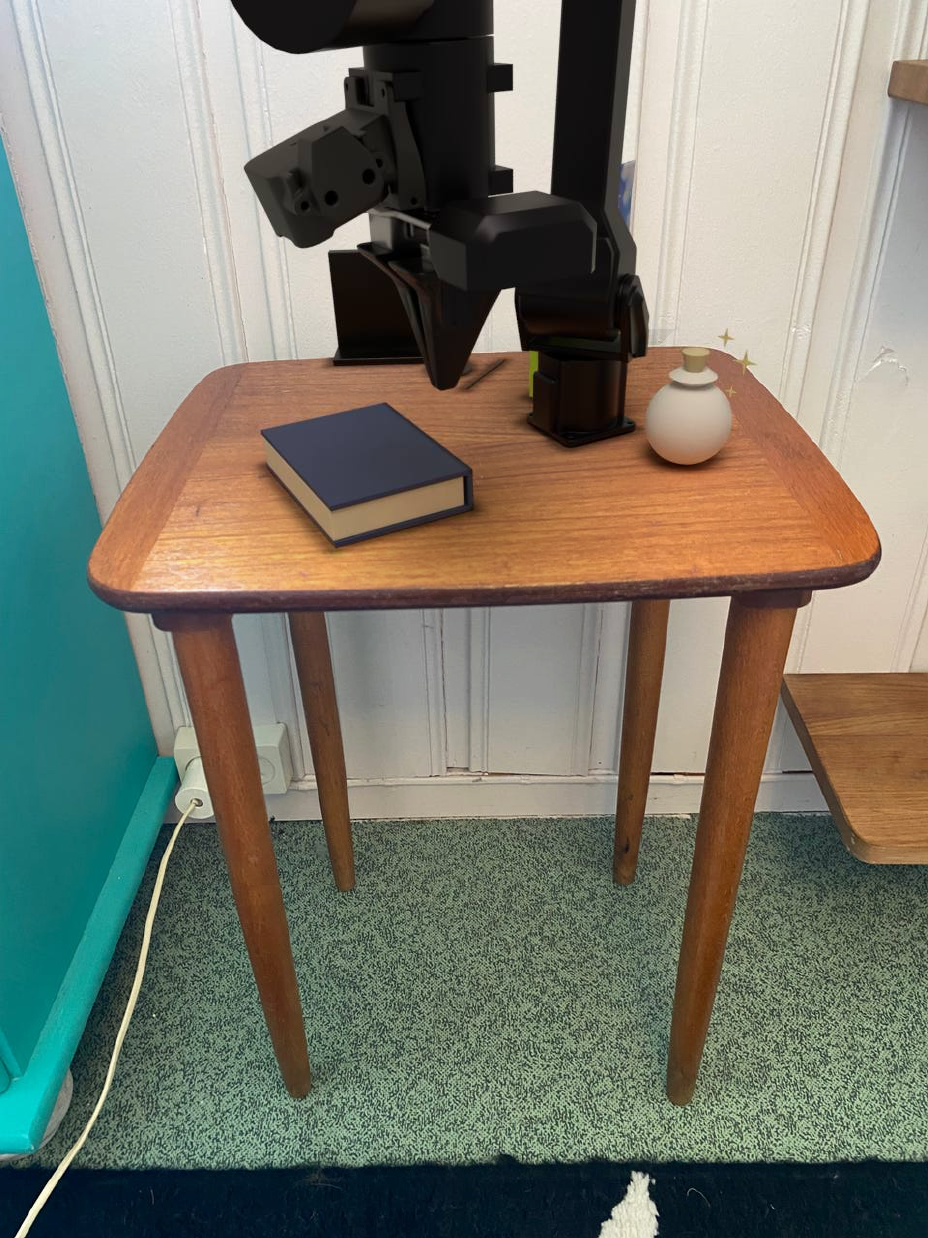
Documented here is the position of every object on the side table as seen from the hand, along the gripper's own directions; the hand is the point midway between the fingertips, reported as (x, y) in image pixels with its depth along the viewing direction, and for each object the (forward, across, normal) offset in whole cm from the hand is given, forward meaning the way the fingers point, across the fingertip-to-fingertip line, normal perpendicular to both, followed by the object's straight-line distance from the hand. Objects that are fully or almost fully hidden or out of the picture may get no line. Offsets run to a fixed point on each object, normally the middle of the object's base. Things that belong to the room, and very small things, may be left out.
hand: (444, 387), depth 48 cm
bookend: (+12, -39, +13) cm, 42 cm away
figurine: (+12, -31, +17) cm, 37 cm away
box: (+12, -22, +24) cm, 35 cm away
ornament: (+12, -4, +22) cm, 25 cm away
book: (+12, -13, 0) cm, 18 cm away
